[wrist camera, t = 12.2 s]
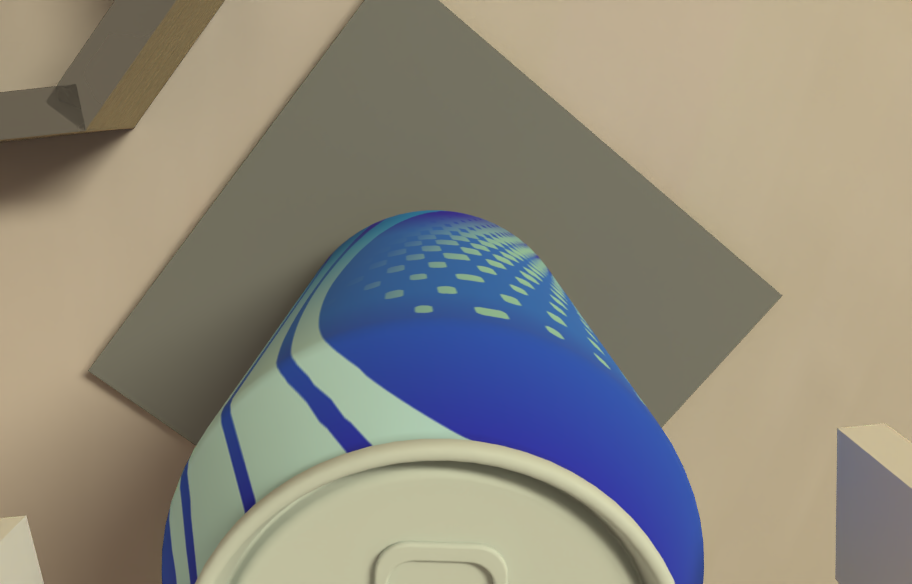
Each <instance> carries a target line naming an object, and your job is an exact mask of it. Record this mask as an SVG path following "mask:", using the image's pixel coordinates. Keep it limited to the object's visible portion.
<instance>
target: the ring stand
mask: <svg viewBox="0 0 912 584" xmlns="http://www.w3.org/2000/svg"><path fill="white" fill-rule="evenodd" d="M223 2H224V0H115V1H114V3H113V4H112V6H111V7H110V9H109V10H108V11H107V13H106V14H105V16H104V17H103V19H102V20H101V22H100V23H99V25H98V26H97V28H96V29H95V30H94V32H93V33H92V35H91V36H90V38H89V39H88V41H87V42H86V44H85V45H84V47H83V48H82V49H81V51H80V52H79V54H78V55H77V57H76V58H75V60H74V61H73V63H72V64H71V66H70V67H69V68H68V70H67V71H66V73H65V74H64V76H63V77H62V79H61V80H60V82H59V83H58V85H57V86H54V87H45V88H36V89H26V90H17V91H8V92H0V142H5V141H14V140H23V139H33V138H42V137H51V136H61V135H70V134H79V133H89V132H98V131H107V130H117V129H131V128H135V125H136V124H137V123H138V121H139V120H140V118H141V117H142V116H143V114H144V113H145V111H146V110H147V109H148V107H149V106H150V104H151V103H152V101H153V100H154V99H155V97H156V96H157V94H158V93H159V92H160V90H161V89H162V87H163V86H164V85H165V83H166V82H167V80H168V79H169V78H170V76H171V75H172V73H173V72H174V71H175V69H176V68H177V66H178V65H179V64H180V62H181V61H182V59H183V58H184V57H185V55H186V54H187V52H188V51H189V49H190V48H191V47H192V45H193V44H194V42H195V41H196V40H197V38H198V37H199V35H200V34H201V33H202V31H203V30H204V28H205V27H206V26H207V24H208V23H209V21H210V20H211V19H212V17H213V16H214V14H215V13H216V12H217V10H218V9H219V7H220V6H221V4H222V3H223Z"/></svg>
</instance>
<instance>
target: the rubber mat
mask: <svg viewBox="0 0 912 584" xmlns="http://www.w3.org/2000/svg"><path fill="white" fill-rule="evenodd" d="M426 210H442V211H453V212H459V213H464V214H469V215H472V216H475V217H479V218H482V219H484V220H487V221H489V222H492V223H494V224H496V225H498V226H500V227H502V228H504V229H505V230H507V231H509V232H510V233H512V234H513V235H515V236H516V237H518V238H519V239H520V240H521V241H523V242H524V243H525V244H526V245H527V246H529V247H530V248H531V249H532V250H533V251H534V253H535V254H536V255H537V256H538V257H539V258H540V259H541V260H542V262H543V263H544V264H545V265H546V267H547V268H548V269H549V271H550V272H551V274H552V275H553V276H554V278H555V279H556V281H557V282H558V283H559V285H560V286H561V288H562V289H563V290H564V292H565V293H566V295H567V296H568V297H569V299H570V300H571V302H572V303H573V304H574V306H575V307H576V309H577V310H578V311H579V313H580V314H581V316H582V317H583V318H584V320H585V321H586V323H587V324H588V325H589V327H590V328H591V330H592V331H593V332H594V334H595V335H596V337H597V338H598V340H599V341H600V342H601V344H602V345H603V347H604V348H605V349H606V351H607V352H608V354H609V355H610V356H611V358H612V359H613V361H614V362H615V363H616V365H617V366H618V368H619V369H620V370H621V372H622V373H623V375H624V376H625V377H626V379H627V380H628V382H629V383H630V384H631V386H632V387H633V389H634V390H635V391H636V393H637V394H638V396H639V397H640V398H641V400H642V401H643V403H644V404H645V405H646V407H647V408H648V410H649V411H650V412H651V414H652V415H653V417H654V418H655V419H656V421H657V422H658V424H659V425H660V427H661V428H662V427H663V426H664V424H665V423H666V422H667V421H668V420H669V419H670V418H671V417H672V416H673V415H674V414H675V412H676V411H677V410H678V409H679V408H680V407H681V406H682V405H683V404H684V403H685V402H686V400H687V399H688V398H689V397H690V396H691V395H692V394H693V393H694V392H695V391H696V390H697V388H698V387H699V386H700V385H701V384H702V383H703V382H704V381H705V380H706V379H707V378H708V376H709V375H710V374H711V373H712V372H713V371H714V370H715V369H716V368H717V367H718V366H719V364H720V363H721V362H722V361H723V360H724V359H725V358H726V357H727V356H728V355H729V354H730V352H731V351H732V350H733V349H734V348H735V347H736V346H737V345H738V344H739V343H740V342H741V340H742V339H743V338H744V337H745V336H746V335H747V334H748V333H749V332H750V331H751V330H752V328H753V327H754V326H755V325H756V324H757V323H758V322H759V321H760V320H761V319H762V318H763V316H764V315H765V314H766V313H767V312H768V311H769V310H770V309H771V308H772V307H773V306H774V304H775V303H776V302H777V301H778V300H779V299H780V298H781V297H782V295H781V294H780V293H779V292H777V291H776V290H775V289H774V288H773V287H772V286H770V285H769V284H768V283H767V282H766V281H765V280H763V279H762V278H761V277H760V276H759V275H758V274H756V273H755V272H754V271H753V270H752V269H751V268H749V267H748V266H747V265H746V264H745V263H744V262H743V261H741V260H740V259H739V258H738V257H737V256H736V255H734V254H733V253H732V252H731V251H730V250H729V249H727V248H726V247H725V246H724V245H723V244H722V243H720V242H719V241H718V240H717V239H716V238H715V237H713V236H712V235H711V234H710V233H709V232H708V231H706V230H705V229H704V228H703V227H702V226H701V225H699V224H698V223H697V222H696V221H695V220H694V219H692V218H691V217H690V216H689V215H688V214H687V213H685V212H684V211H683V210H682V209H681V208H680V207H678V206H677V205H676V204H675V203H674V202H673V201H671V200H670V199H669V198H668V197H667V196H666V195H664V194H663V193H662V192H661V191H660V190H659V189H657V188H656V187H655V186H654V185H653V184H652V183H650V182H649V181H648V180H647V179H646V178H645V177H643V176H642V175H641V174H640V173H639V172H638V171H636V170H635V169H634V168H633V167H632V166H631V165H630V164H628V163H627V162H626V161H625V160H624V159H623V158H621V157H620V156H619V155H618V154H617V153H616V152H614V151H613V150H612V149H611V148H610V147H609V146H607V145H606V144H605V143H604V142H603V141H602V140H600V139H599V138H598V137H597V136H596V135H595V134H593V133H592V132H591V131H590V130H589V129H588V128H586V127H585V126H584V125H583V124H582V123H581V122H579V121H578V120H577V119H576V118H575V117H574V116H572V115H571V114H570V113H569V112H568V111H567V110H565V109H564V108H563V107H562V106H561V105H560V104H558V103H557V102H556V101H555V100H554V99H553V98H551V97H550V96H549V95H548V94H547V93H546V92H544V91H543V90H542V89H541V88H540V87H539V86H537V85H536V84H535V83H534V82H533V81H532V80H530V79H529V78H528V77H527V76H526V75H525V74H523V73H522V72H521V71H520V70H519V69H518V68H516V67H515V66H514V65H513V64H512V63H511V62H510V61H508V60H507V59H506V58H505V57H504V56H503V55H501V54H500V53H499V52H498V51H497V50H496V49H494V48H493V47H492V46H491V45H490V44H489V43H487V42H486V41H485V40H484V39H483V38H482V37H480V36H479V35H478V34H477V33H476V32H475V31H473V30H472V29H471V28H470V27H469V26H468V25H466V24H465V23H464V22H463V21H462V20H461V19H459V18H458V17H457V16H456V15H455V14H454V13H452V12H451V11H450V10H449V9H448V8H447V7H445V6H444V5H443V4H442V3H441V2H440V1H438V0H364V2H363V3H362V4H361V6H360V7H359V8H358V10H357V11H356V12H355V14H354V15H353V16H352V18H351V19H350V20H349V22H348V23H347V25H346V26H345V27H344V29H343V30H342V31H341V33H340V34H339V35H338V37H337V38H336V39H335V41H334V42H333V43H332V45H331V46H330V47H329V49H328V50H327V51H326V53H325V54H324V55H323V57H322V58H321V59H320V61H319V62H318V63H317V65H316V66H315V67H314V69H313V70H312V71H311V73H310V74H309V75H308V77H307V78H306V79H305V81H304V82H303V83H302V85H301V86H300V88H299V89H298V90H297V92H296V93H295V94H294V96H293V97H292V98H291V100H290V101H289V102H288V104H287V105H286V106H285V108H284V109H283V110H282V112H281V113H280V114H279V116H278V117H277V118H276V120H275V121H274V122H273V124H272V125H271V126H270V128H269V129H268V130H267V132H266V133H265V134H264V136H263V137H262V138H261V140H260V141H259V142H258V144H257V145H256V147H255V148H254V149H253V151H252V152H251V153H250V155H249V156H248V157H247V159H246V160H245V161H244V163H243V164H242V165H241V167H240V168H239V169H238V171H237V172H236V173H235V175H234V176H233V177H232V179H231V180H230V181H229V183H228V184H227V185H226V187H225V188H224V189H223V191H222V192H221V193H220V195H219V196H218V197H217V199H216V200H215V201H214V203H213V204H212V205H211V207H210V208H209V210H208V211H207V212H206V214H205V215H204V216H203V218H202V219H201V220H200V222H199V223H198V224H197V226H196V227H195V228H194V230H193V231H192V232H191V234H190V235H189V236H188V238H187V239H186V240H185V242H184V243H183V244H182V246H181V247H180V248H179V250H178V251H177V252H176V254H175V255H174V256H173V258H172V259H171V260H170V262H169V263H168V264H167V266H166V267H165V268H164V270H163V271H162V273H161V274H160V275H159V277H158V278H157V279H156V281H155V282H154V283H153V285H152V286H151V287H150V289H149V290H148V291H147V293H146V294H145V295H144V297H143V298H142V299H141V301H140V302H139V303H138V305H137V306H136V307H135V309H134V310H133V311H132V313H131V314H130V315H129V317H128V318H127V319H126V321H125V322H124V323H123V325H122V326H121V327H120V329H119V330H118V332H117V333H116V334H115V336H114V337H113V338H112V340H111V341H110V342H109V344H108V345H107V346H106V348H105V349H104V350H103V352H102V353H101V354H100V356H99V357H98V358H97V360H96V361H95V362H94V364H93V365H92V366H91V368H90V369H89V370H88V371H89V372H91V373H92V374H93V375H95V376H96V377H98V378H99V379H101V380H102V381H104V382H105V383H106V384H108V385H109V386H111V387H112V388H114V389H115V390H117V391H118V392H119V393H121V394H122V395H124V396H125V397H127V398H128V399H130V400H131V401H132V402H134V403H135V404H137V405H138V406H140V407H141V408H142V409H144V410H145V411H147V412H148V413H150V414H151V415H153V416H154V417H155V418H157V419H158V420H160V421H161V422H163V423H164V424H166V425H167V426H168V427H170V428H171V429H173V430H174V431H176V432H177V433H179V434H180V435H181V436H183V437H184V438H186V439H187V440H189V441H190V442H191V443H193V444H194V445H197V443H198V442H199V440H200V439H201V437H202V436H203V434H204V433H205V431H206V429H207V428H208V426H209V425H210V424H211V422H212V421H213V419H214V418H215V416H216V415H217V414H218V412H219V411H220V409H221V408H222V407H223V405H224V404H225V402H226V401H227V399H228V398H229V397H230V395H231V394H232V392H233V391H234V390H235V388H236V387H237V385H238V384H239V382H240V381H241V380H242V378H243V377H244V375H245V374H246V373H247V371H248V370H249V368H250V367H251V366H252V364H253V363H254V361H255V360H256V358H257V357H258V356H259V354H260V353H261V351H262V350H263V349H264V347H265V346H266V344H267V343H268V341H269V340H270V339H271V337H272V336H273V334H274V333H275V332H276V330H277V329H278V327H279V326H280V324H281V323H282V322H283V320H284V319H285V317H286V316H287V315H288V313H289V312H290V310H291V309H292V307H293V306H294V305H295V303H296V302H297V300H298V299H299V298H300V296H301V295H302V293H303V292H304V290H305V289H306V288H307V286H308V285H309V283H310V282H311V281H312V279H313V278H314V276H315V275H316V273H317V272H318V271H319V269H320V268H321V266H322V265H323V264H324V263H325V261H326V260H327V259H328V258H329V256H330V255H331V254H332V253H333V252H334V251H335V250H336V249H337V248H338V247H339V246H341V245H342V244H343V243H344V242H345V241H347V240H348V239H349V238H350V237H352V236H353V235H355V234H356V233H358V232H359V231H361V230H363V229H364V228H366V227H368V226H370V225H372V224H374V223H376V222H379V221H381V220H384V219H386V218H389V217H393V216H396V215H399V214H404V213H409V212H416V211H426Z"/></svg>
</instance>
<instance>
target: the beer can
mask: <svg viewBox="0 0 912 584" xmlns="http://www.w3.org/2000/svg"><path fill="white" fill-rule="evenodd" d="M703 576H704V551H703V537H702V530H701V522H700V517H699V513H698V509H697V505H696V501H695V497H694V494H693V491H692V489H691V486H690V483H689V481H688V478H687V475H686V473H685V470H684V468H683V465H682V463H681V461H680V459H679V458H678V456H677V454H676V452H675V450H674V448H673V446H672V444H671V442H670V441H669V439H668V438H667V436H666V434H665V433H664V431H663V430H662V428H661V427H660V425H659V424H658V422H657V421H656V419H655V418H654V417H653V415H652V414H651V412H650V411H649V410H648V408H647V407H646V405H645V404H644V403H643V401H642V400H641V398H640V397H639V396H638V394H637V393H636V391H635V390H634V389H633V387H632V386H631V384H630V383H629V382H628V380H627V379H626V377H625V376H624V375H623V373H622V372H621V370H620V369H619V368H618V366H617V365H616V363H615V362H614V361H613V359H612V358H611V356H610V355H609V354H608V352H607V351H606V349H605V348H604V347H603V345H602V344H601V342H600V341H599V340H598V338H597V337H596V335H595V334H594V332H593V331H592V330H591V328H590V327H589V325H588V324H587V323H586V321H585V320H584V318H583V317H582V316H581V314H580V313H579V311H578V310H577V309H576V307H575V306H574V304H573V303H572V302H571V300H570V299H569V297H568V296H567V295H566V293H565V292H564V290H563V289H562V288H561V286H560V285H559V283H558V282H557V281H556V279H555V278H554V276H553V275H552V274H551V272H550V271H549V269H548V268H547V267H546V265H545V264H544V263H543V262H542V260H541V259H540V258H539V257H538V256H537V255H536V254H535V253H534V251H533V250H532V249H531V248H530V247H529V246H527V245H526V244H525V243H524V242H523V241H521V240H520V239H519V238H518V237H516V236H515V235H513V234H512V233H510V232H509V231H507V230H505V229H504V228H502V227H500V226H498V225H496V224H494V223H492V222H489V221H487V220H484V219H482V218H479V217H475V216H472V215H469V214H464V213H459V212H453V211H442V210H426V211H416V212H409V213H404V214H399V215H396V216H393V217H389V218H386V219H384V220H381V221H379V222H376V223H374V224H372V225H370V226H368V227H366V228H364V229H363V230H361V231H359V232H358V233H356V234H355V235H353V236H352V237H350V238H349V239H348V240H347V241H345V242H344V243H343V244H342V245H341V246H339V247H338V248H337V249H336V250H335V251H334V252H333V253H332V254H331V255H330V256H329V258H328V259H327V260H326V261H325V263H324V264H323V265H322V266H321V268H320V269H319V271H318V272H317V273H316V275H315V276H314V278H313V279H312V281H311V282H310V283H309V285H308V286H307V288H306V289H305V290H304V292H303V293H302V295H301V296H300V298H299V299H298V300H297V302H296V303H295V305H294V306H293V307H292V309H291V310H290V312H289V313H288V315H287V316H286V317H285V319H284V320H283V322H282V323H281V324H280V326H279V327H278V329H277V330H276V332H275V333H274V334H273V336H272V337H271V339H270V340H269V341H268V343H267V344H266V346H265V347H264V349H263V350H262V351H261V353H260V354H259V356H258V357H257V358H256V360H255V361H254V363H253V364H252V366H251V367H250V368H249V370H248V371H247V373H246V374H245V375H244V377H243V378H242V380H241V381H240V382H239V384H238V385H237V387H236V388H235V390H234V391H233V392H232V394H231V395H230V397H229V398H228V399H227V401H226V402H225V404H224V405H223V407H222V408H221V409H220V411H219V412H218V414H217V415H216V416H215V418H214V419H213V421H212V422H211V424H210V425H209V426H208V428H207V429H206V431H205V433H204V434H203V436H202V437H201V439H200V440H199V442H198V443H197V445H196V447H195V448H194V450H193V452H192V454H191V456H190V458H189V460H188V462H187V464H186V466H185V468H184V470H183V472H182V475H181V477H180V480H179V482H178V485H177V488H176V491H175V493H174V496H173V499H172V501H171V505H170V509H169V513H168V517H167V521H166V525H165V533H164V541H163V548H162V584H703Z"/></svg>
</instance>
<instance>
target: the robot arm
mask: <svg viewBox="0 0 912 584" xmlns="http://www.w3.org/2000/svg"><path fill="white" fill-rule="evenodd" d="M836 580H837V581H838V582H839V584H912V442H910V441H909V440H907V439H906V438H905V437H903V436H902V435H900V434H899V433H898V432H896V431H895V430H893V429H892V428H891V427H889V426H888V425H887V424H885V423H882V424H873V425H863V426H854V427H845V428H837V500H836ZM0 584H44V582H43V578H42V574H41V570H40V566H39V563H38V559H37V555H36V551H35V547H34V543H33V539H32V536H31V532H30V528H29V524H28V520H27V516H26V515H25V516H16V517H6V518H0Z"/></svg>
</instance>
